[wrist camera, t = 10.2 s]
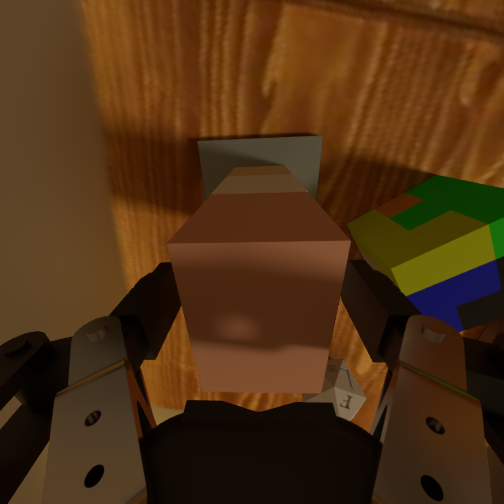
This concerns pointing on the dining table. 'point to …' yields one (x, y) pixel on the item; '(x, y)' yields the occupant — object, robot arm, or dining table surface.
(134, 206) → the dining table surface
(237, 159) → the baseplate
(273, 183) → the brick white
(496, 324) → the tray frame
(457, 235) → the puzzle toy
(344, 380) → the die
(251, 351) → the brick terracotta
